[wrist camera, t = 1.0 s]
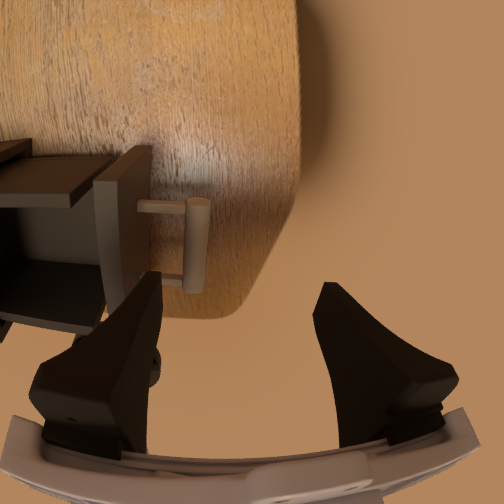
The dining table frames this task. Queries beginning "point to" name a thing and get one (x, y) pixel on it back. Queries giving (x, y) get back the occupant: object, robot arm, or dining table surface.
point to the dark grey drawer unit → (3, 153)
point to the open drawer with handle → (85, 237)
